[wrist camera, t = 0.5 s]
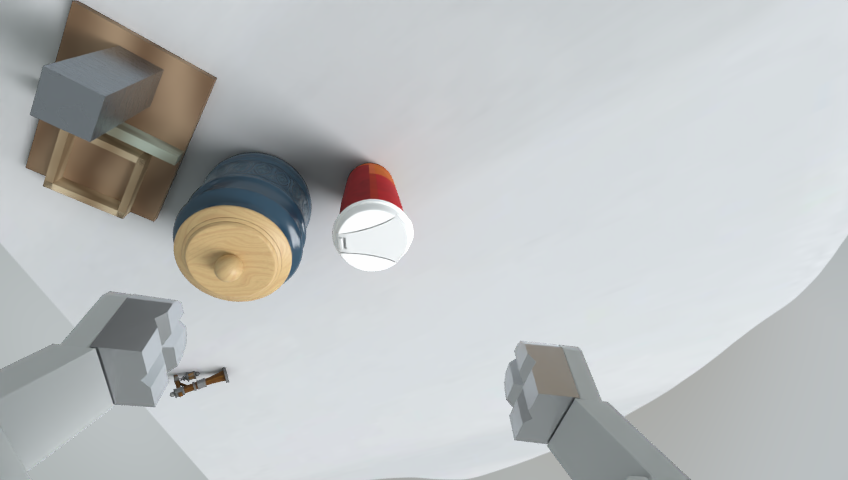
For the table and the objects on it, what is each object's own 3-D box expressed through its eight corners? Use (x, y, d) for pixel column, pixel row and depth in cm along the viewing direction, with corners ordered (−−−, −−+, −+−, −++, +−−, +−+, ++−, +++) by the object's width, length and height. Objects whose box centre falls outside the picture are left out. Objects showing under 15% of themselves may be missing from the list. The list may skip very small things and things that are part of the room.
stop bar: (106, 83, 49) (29, 114, 37) (118, 45, 47) (43, 65, 36) (150, 106, 50) (89, 142, 39) (164, 69, 49) (105, 96, 37)
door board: (31, 164, 53) (14, 174, 50) (77, 0, 45) (60, 1, 43) (157, 218, 58) (147, 229, 55) (217, 78, 51) (209, 83, 48)
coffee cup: (340, 214, 61) (335, 278, 48) (334, 155, 56) (327, 207, 44) (403, 211, 61) (415, 272, 49) (402, 152, 57) (414, 202, 44)
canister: (199, 228, 59) (143, 314, 44) (214, 135, 54) (156, 197, 38) (299, 252, 63) (280, 339, 47) (323, 167, 57) (310, 235, 42)
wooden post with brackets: (166, 374, 69) (169, 395, 66) (222, 356, 73) (227, 375, 70) (169, 383, 70) (172, 403, 67) (224, 364, 74) (229, 383, 71)
